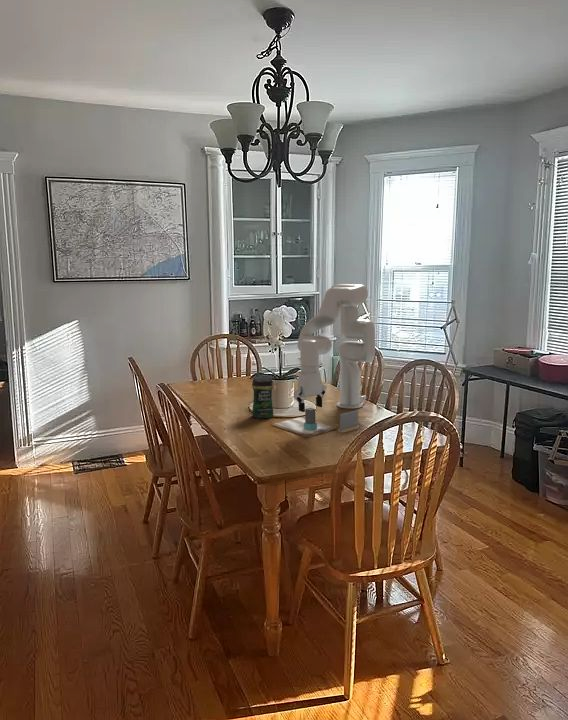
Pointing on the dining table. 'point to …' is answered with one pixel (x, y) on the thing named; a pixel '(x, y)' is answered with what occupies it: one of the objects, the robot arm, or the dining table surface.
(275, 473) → the dining table surface
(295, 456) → the dining table surface
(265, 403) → the coffee jar
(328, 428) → the white flat pad
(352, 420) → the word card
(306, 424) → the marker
